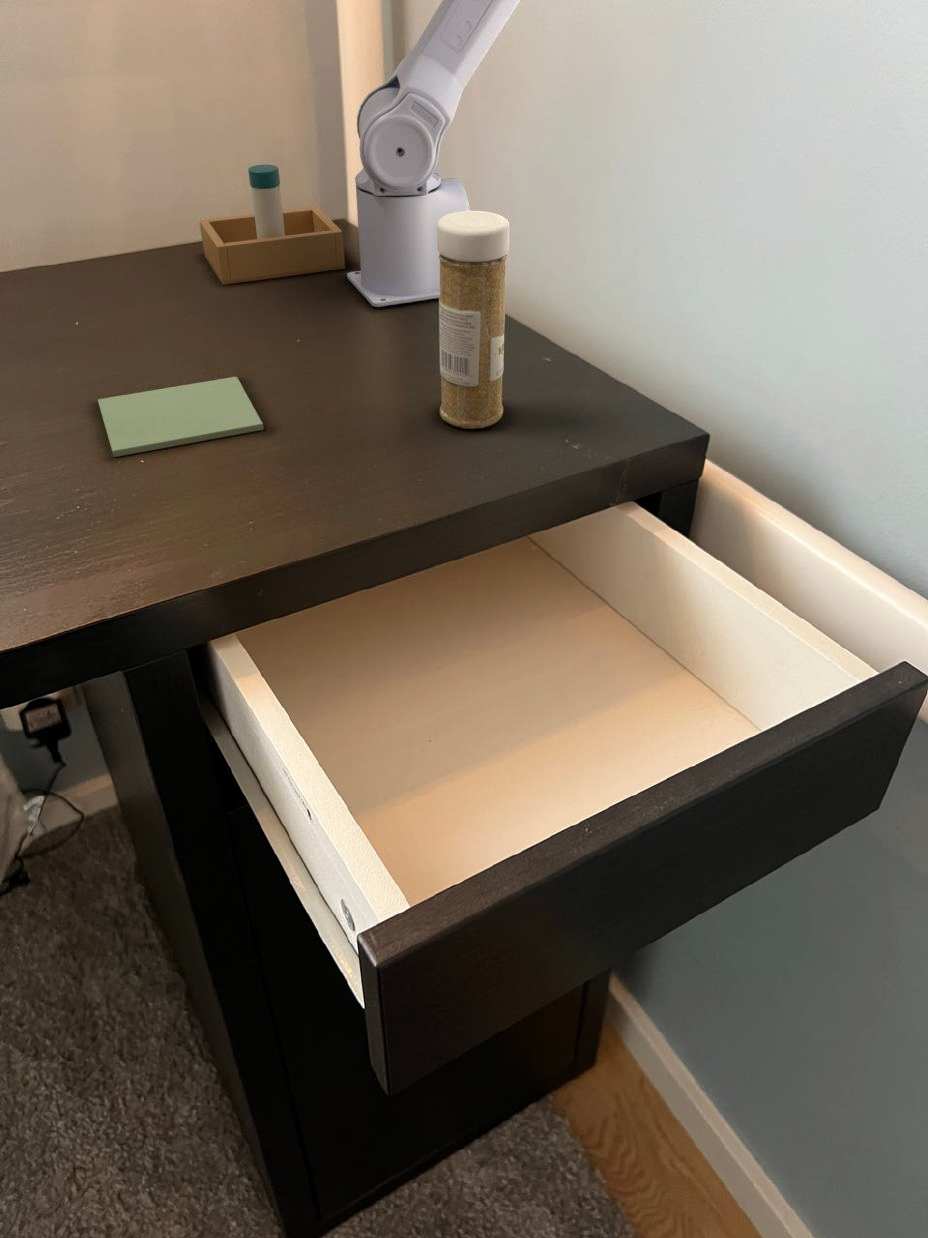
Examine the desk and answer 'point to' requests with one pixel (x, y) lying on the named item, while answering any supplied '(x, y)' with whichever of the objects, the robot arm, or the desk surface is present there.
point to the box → (272, 246)
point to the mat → (178, 416)
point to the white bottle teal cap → (266, 201)
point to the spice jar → (472, 316)
